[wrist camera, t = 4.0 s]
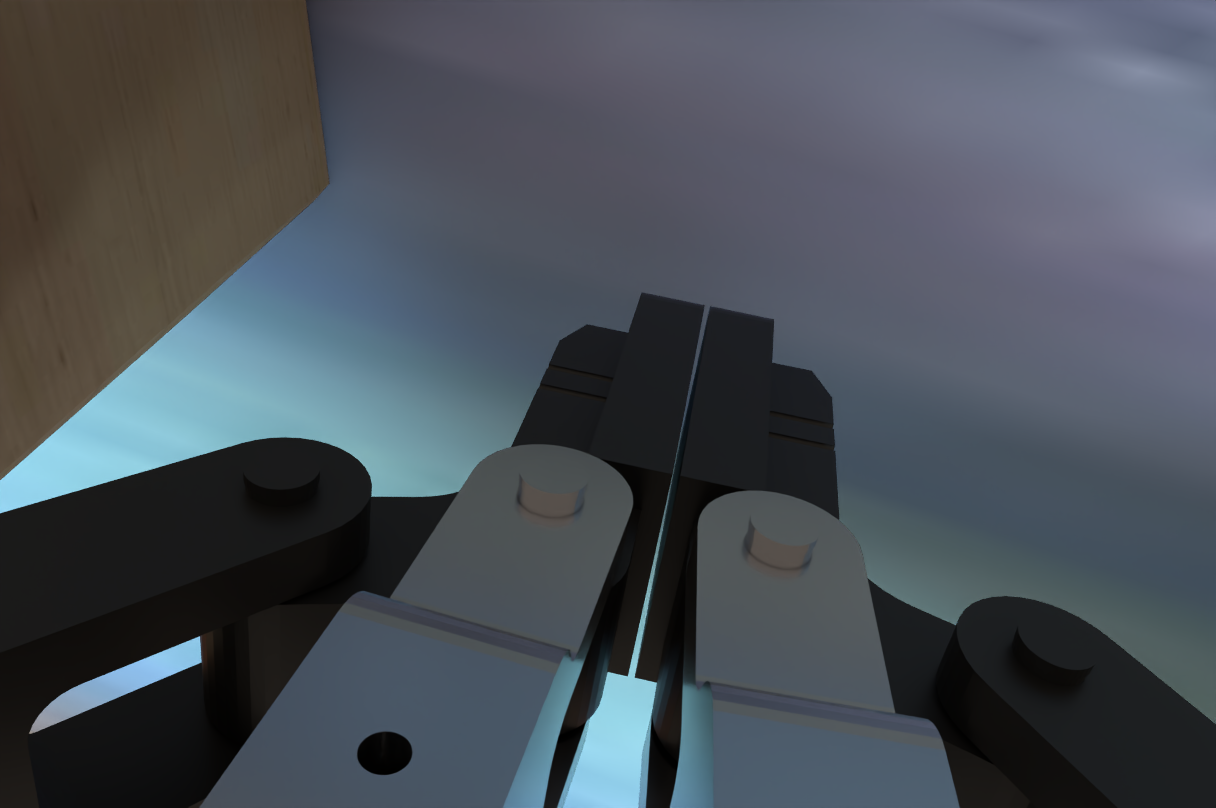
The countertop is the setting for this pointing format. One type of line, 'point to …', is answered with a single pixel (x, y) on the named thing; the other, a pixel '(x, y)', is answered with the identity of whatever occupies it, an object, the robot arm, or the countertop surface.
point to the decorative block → (136, 180)
